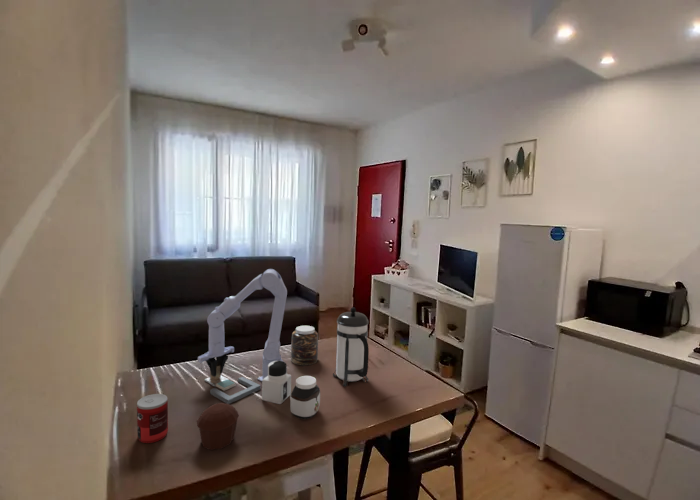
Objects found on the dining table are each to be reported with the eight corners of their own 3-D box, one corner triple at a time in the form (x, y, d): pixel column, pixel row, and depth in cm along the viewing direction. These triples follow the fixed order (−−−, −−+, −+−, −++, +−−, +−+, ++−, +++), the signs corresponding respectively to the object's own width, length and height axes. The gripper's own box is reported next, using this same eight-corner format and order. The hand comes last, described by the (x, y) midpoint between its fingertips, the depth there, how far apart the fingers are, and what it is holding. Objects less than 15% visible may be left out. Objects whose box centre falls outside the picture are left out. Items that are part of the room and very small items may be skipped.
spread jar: (305, 424, 112) (306, 389, 111) (278, 413, 117) (278, 380, 116) (326, 407, 122) (327, 375, 121) (300, 397, 128) (300, 367, 127)
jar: (310, 353, 168) (311, 323, 167) (321, 362, 158) (322, 330, 157) (287, 357, 162) (288, 326, 161) (297, 367, 152) (297, 334, 151)
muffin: (217, 457, 95) (218, 423, 94) (187, 446, 100) (187, 412, 99) (246, 433, 106) (247, 402, 105) (218, 423, 111) (218, 393, 110)
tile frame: (260, 389, 133) (260, 385, 133) (228, 404, 122) (228, 400, 121) (242, 380, 139) (242, 376, 139) (210, 393, 128) (210, 389, 128)
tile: (235, 386, 135) (235, 382, 135) (224, 391, 131) (224, 387, 131) (227, 382, 138) (227, 378, 138) (216, 387, 134) (216, 383, 134)
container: (291, 394, 130) (292, 360, 129) (280, 404, 123) (281, 369, 121) (273, 390, 132) (273, 357, 131) (261, 400, 125) (262, 365, 124)
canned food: (145, 427, 107) (144, 393, 106) (172, 427, 108) (172, 393, 107) (131, 444, 99) (131, 407, 98) (161, 443, 100) (160, 407, 99)
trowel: (218, 375, 142) (218, 360, 142) (228, 381, 138) (228, 365, 137) (204, 380, 137) (204, 365, 137) (214, 386, 133) (215, 370, 133)
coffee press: (324, 383, 139) (327, 309, 136) (340, 368, 154) (343, 301, 151) (366, 393, 133) (369, 316, 130) (378, 376, 147) (382, 306, 144)
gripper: (226, 333, 144) (226, 365, 146) (193, 343, 133) (193, 377, 134) (237, 337, 140) (237, 370, 141) (203, 348, 128) (203, 383, 130)
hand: (216, 374), depth 137 cm, fingers closed on trowel
